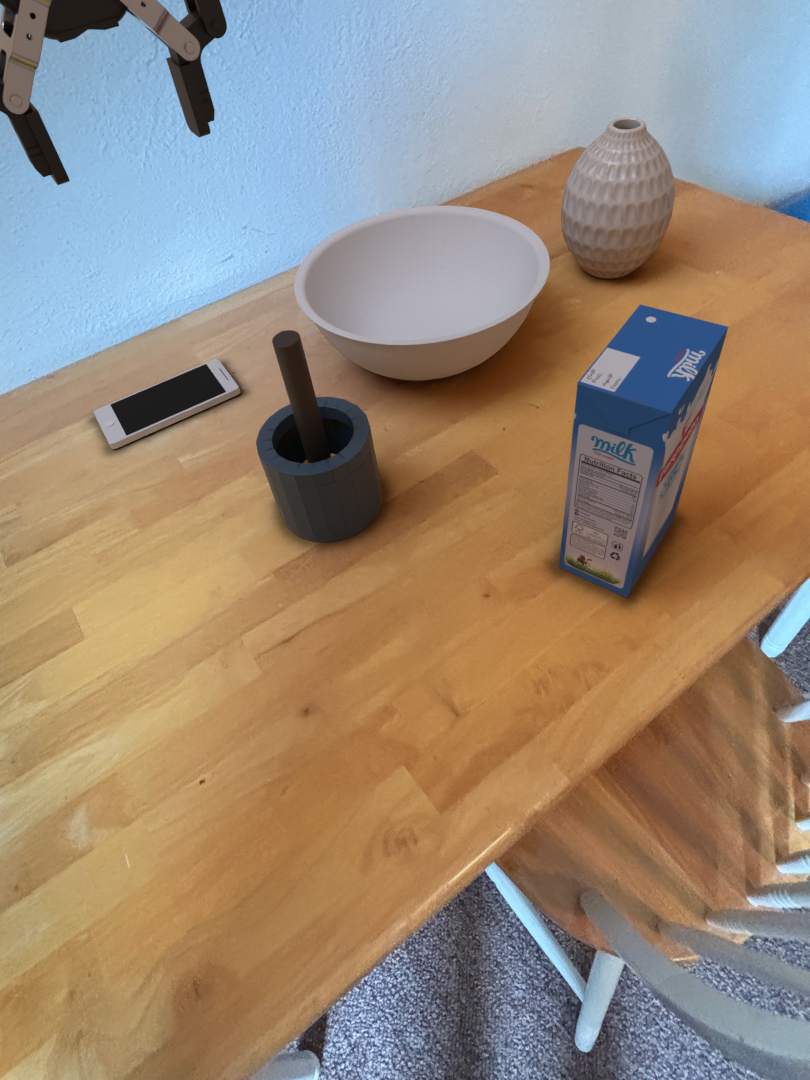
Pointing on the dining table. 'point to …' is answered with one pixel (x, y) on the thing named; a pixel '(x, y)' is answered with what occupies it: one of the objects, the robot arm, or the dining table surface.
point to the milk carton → (635, 443)
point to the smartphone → (165, 403)
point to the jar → (323, 473)
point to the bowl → (423, 288)
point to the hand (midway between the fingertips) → (132, 155)
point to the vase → (618, 200)
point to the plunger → (301, 395)
